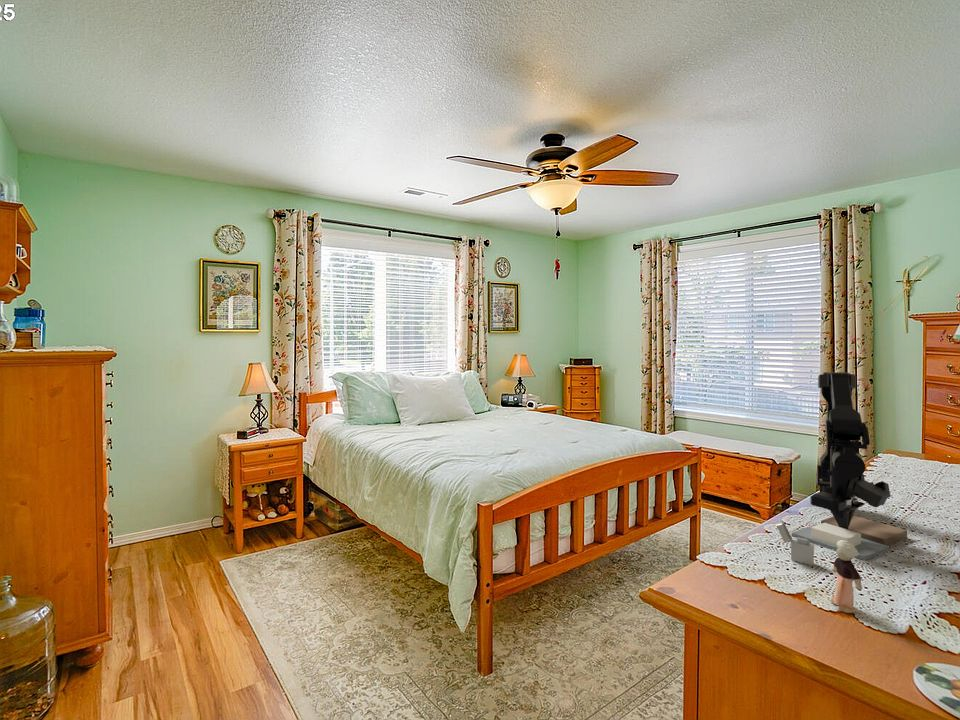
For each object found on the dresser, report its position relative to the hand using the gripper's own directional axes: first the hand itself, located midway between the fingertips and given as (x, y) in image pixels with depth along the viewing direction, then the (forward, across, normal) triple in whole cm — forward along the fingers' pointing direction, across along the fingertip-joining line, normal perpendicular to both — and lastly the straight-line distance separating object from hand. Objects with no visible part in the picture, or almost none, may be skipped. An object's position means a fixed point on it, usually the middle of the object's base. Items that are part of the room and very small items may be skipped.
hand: (844, 530), depth 121 cm
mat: (+2, -2, 0) cm, 3 cm away
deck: (+2, +9, 0) cm, 9 cm away
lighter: (+3, -21, 0) cm, 21 cm away
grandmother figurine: (+3, -33, -16) cm, 36 cm away
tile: (+2, -4, 0) cm, 4 cm away
